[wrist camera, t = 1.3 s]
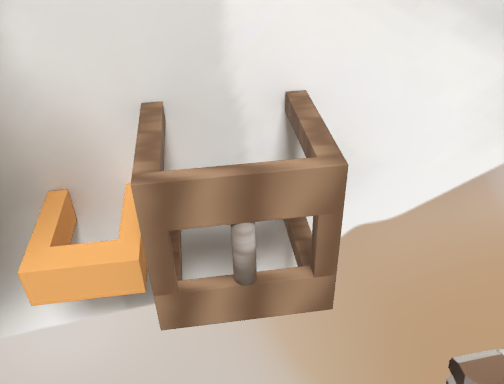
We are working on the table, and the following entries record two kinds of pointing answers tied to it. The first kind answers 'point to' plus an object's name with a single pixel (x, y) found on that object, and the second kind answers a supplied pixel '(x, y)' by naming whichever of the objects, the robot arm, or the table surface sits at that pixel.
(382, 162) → the table surface
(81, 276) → the orange arch brick
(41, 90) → the table surface
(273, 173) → the brown stool
